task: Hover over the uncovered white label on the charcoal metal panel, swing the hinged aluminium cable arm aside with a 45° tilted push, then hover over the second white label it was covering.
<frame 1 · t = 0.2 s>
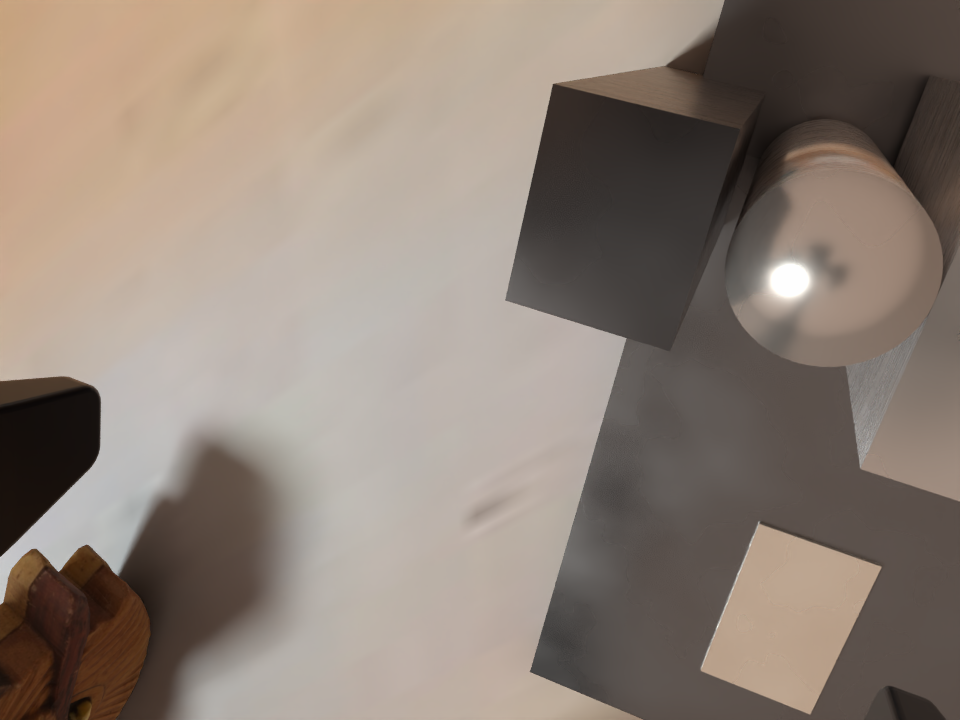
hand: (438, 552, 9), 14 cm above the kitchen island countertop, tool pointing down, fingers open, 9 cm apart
wooden carving: (120, 642, 34), on the kitchen island countertop
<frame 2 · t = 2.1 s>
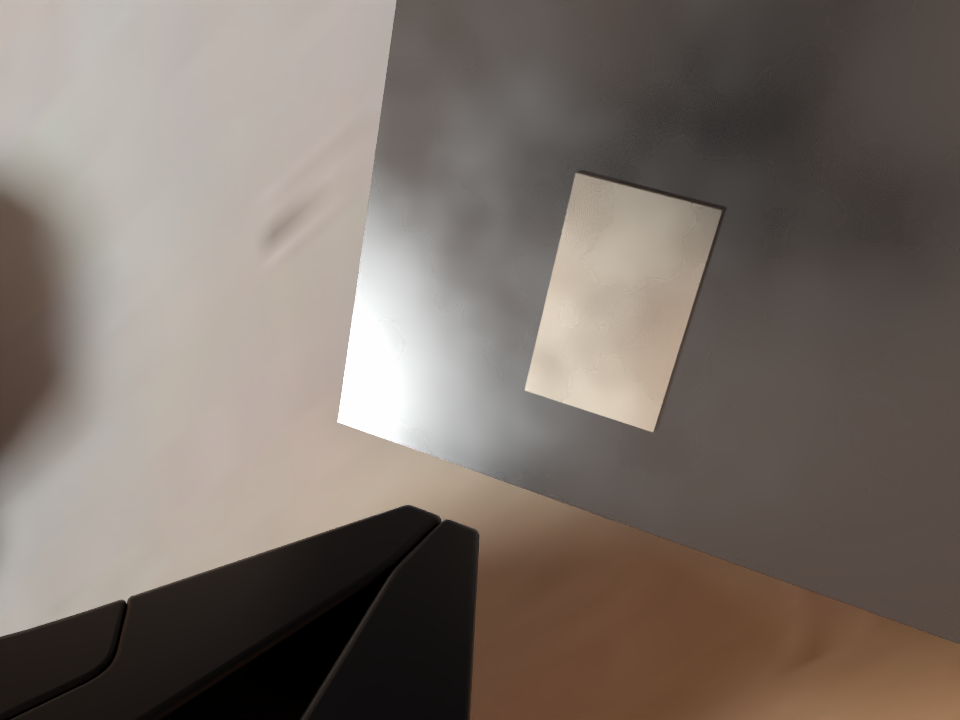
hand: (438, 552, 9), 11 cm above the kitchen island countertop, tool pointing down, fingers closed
server panel: (844, 94, 16), on the kitchen island countertop
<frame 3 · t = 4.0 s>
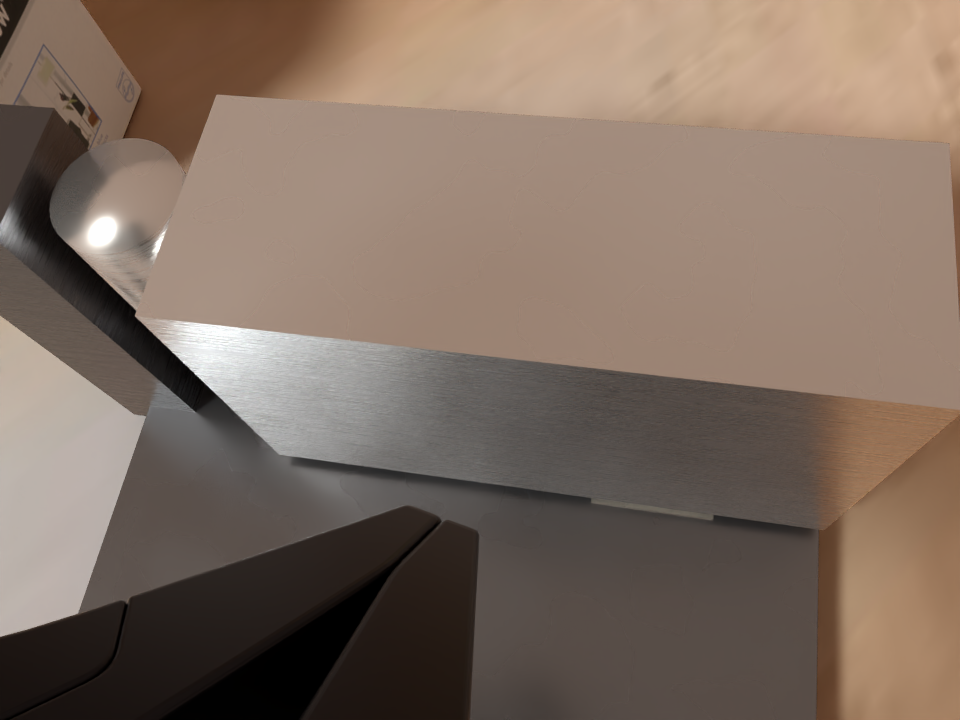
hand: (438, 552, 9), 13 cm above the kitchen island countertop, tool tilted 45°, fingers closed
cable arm: (487, 324, 19), point 5 cm above the kitchen island countertop, hinge at 0.0°
server panel: (436, 627, 21), on the kitchen island countertop
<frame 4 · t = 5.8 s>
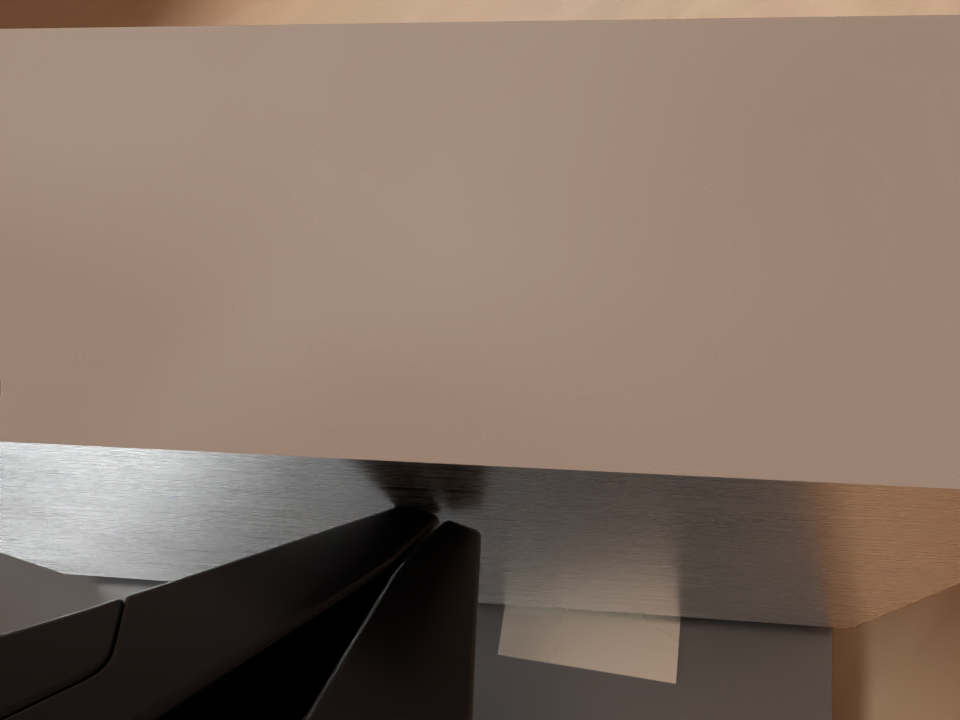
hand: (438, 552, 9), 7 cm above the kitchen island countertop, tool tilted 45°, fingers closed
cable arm: (322, 371, 12), point 6 cm above the kitchen island countertop, hinge at 4.8°, touching gripper
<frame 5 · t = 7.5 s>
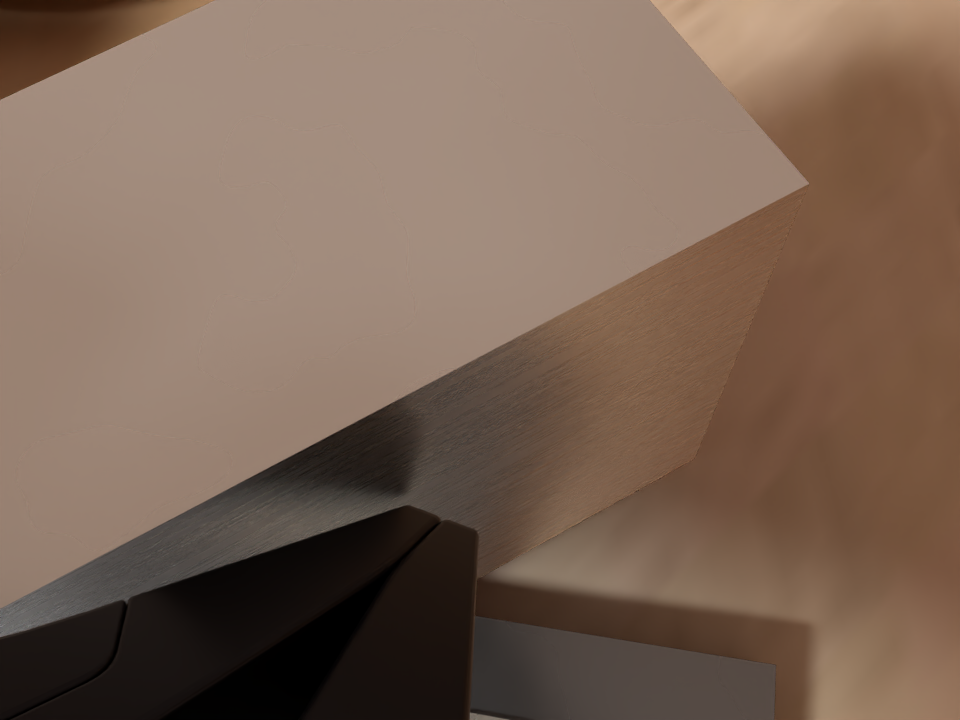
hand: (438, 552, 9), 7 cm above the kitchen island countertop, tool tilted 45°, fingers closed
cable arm: (88, 505, 11), point 6 cm above the kitchen island countertop, hinge at 37.2°, touching gripper
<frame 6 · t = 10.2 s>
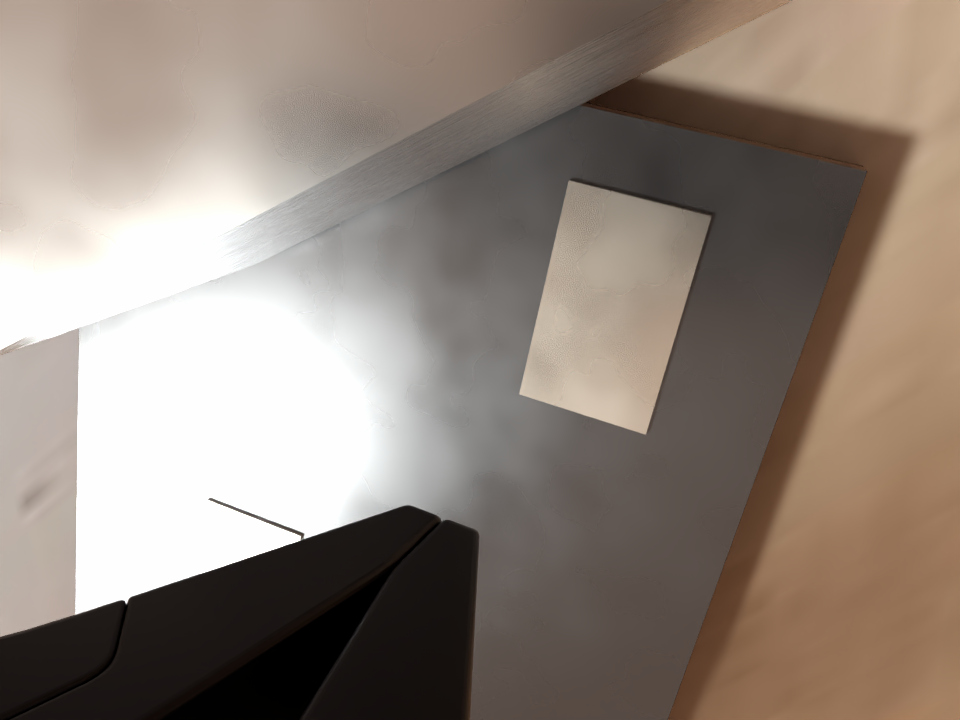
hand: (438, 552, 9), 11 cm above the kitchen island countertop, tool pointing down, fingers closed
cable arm: (298, 53, 14), point 5 cm above the kitchen island countertop, hinge at 37.2°
server panel: (380, 457, 23), on the kitchen island countertop
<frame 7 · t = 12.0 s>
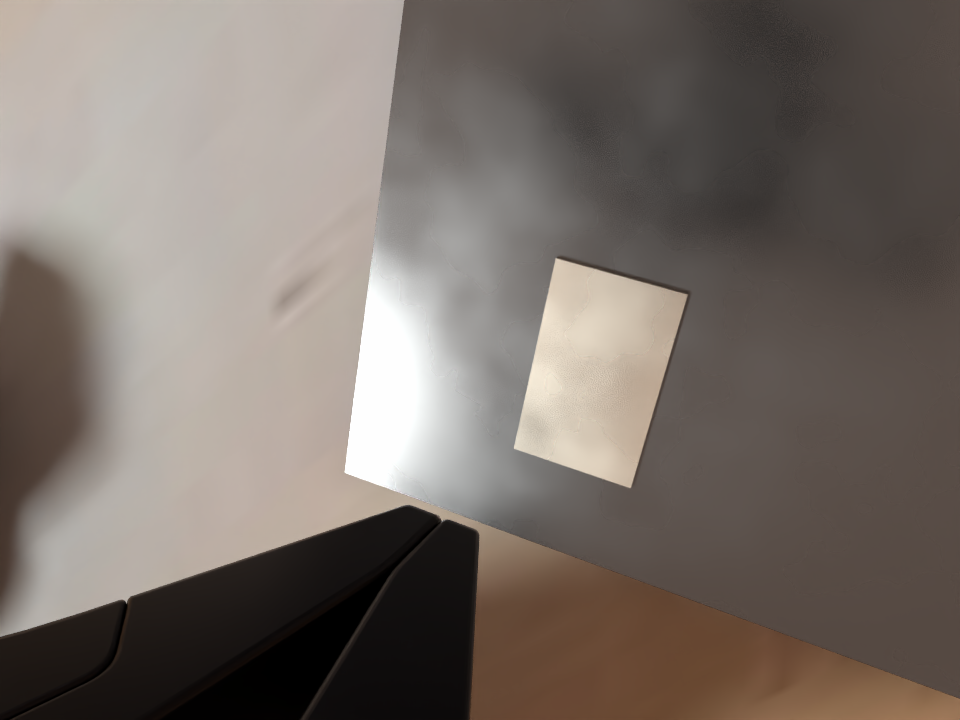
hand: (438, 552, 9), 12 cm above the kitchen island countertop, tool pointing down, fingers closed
server panel: (797, 189, 18), on the kitchen island countertop
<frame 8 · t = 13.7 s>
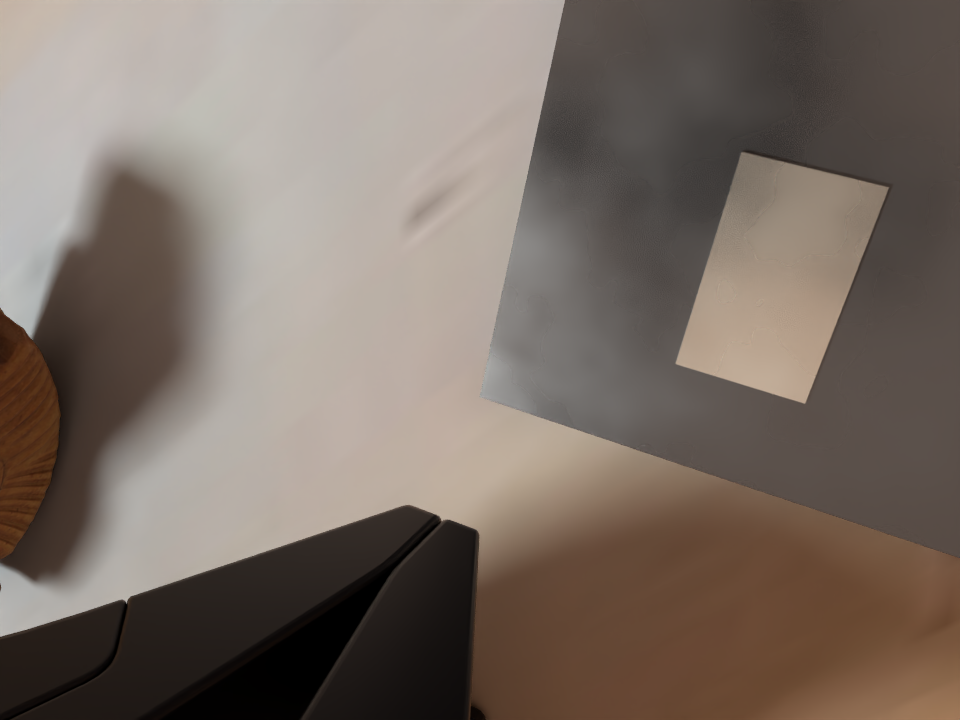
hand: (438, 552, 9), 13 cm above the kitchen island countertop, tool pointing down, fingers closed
wooden carving: (33, 443, 30), on the kitchen island countertop
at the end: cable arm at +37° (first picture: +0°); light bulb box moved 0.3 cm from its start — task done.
